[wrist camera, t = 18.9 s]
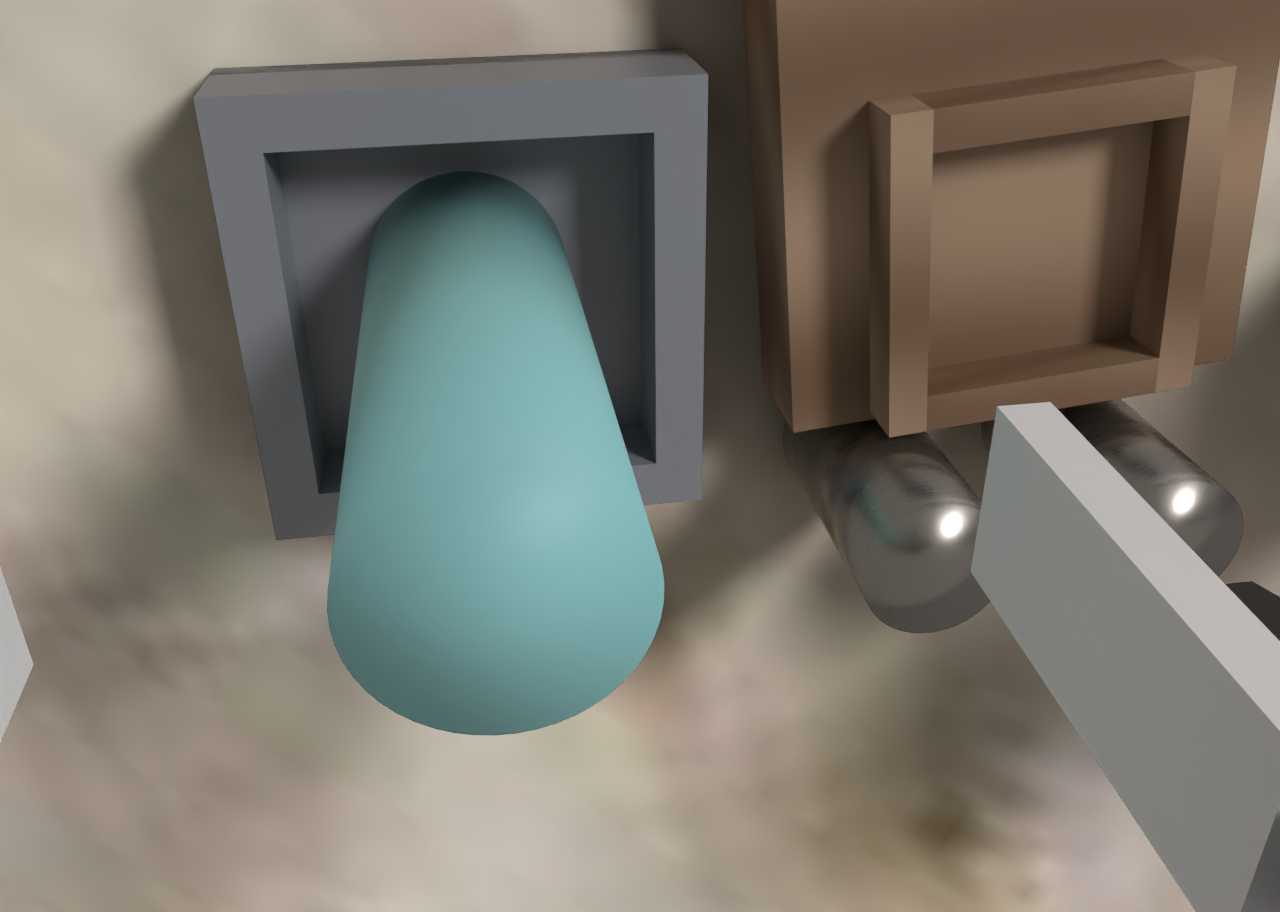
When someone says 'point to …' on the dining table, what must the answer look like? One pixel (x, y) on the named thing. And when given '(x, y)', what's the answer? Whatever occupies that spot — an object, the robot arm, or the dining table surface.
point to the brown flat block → (1000, 199)
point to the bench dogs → (976, 507)
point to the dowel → (485, 476)
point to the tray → (441, 143)
